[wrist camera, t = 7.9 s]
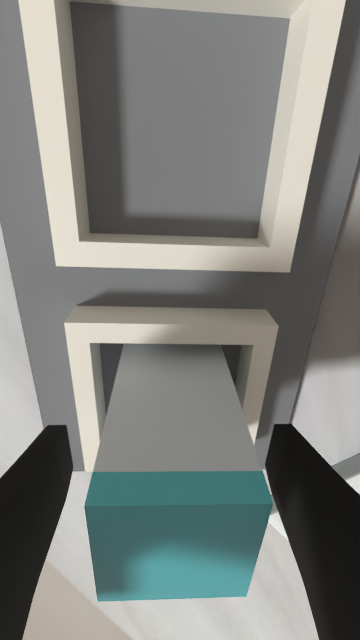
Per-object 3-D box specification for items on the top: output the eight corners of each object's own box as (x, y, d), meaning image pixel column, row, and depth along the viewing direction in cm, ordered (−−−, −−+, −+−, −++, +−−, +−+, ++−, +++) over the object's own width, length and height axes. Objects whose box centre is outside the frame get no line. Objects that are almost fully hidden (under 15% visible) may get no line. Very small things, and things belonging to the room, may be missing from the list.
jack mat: (273, 460, 17) (276, 468, 16) (55, 463, 16) (52, 471, 16) (416, -103, 8) (432, -120, 7) (-68, -154, 7) (-84, -177, 7)
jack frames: (241, 443, 16) (249, 469, 14) (92, 445, 15) (85, 471, 14) (325, -20, 8) (357, -59, 7) (33, -45, 8) (5, -93, 6)
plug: (210, 413, 15) (246, 596, 8) (127, 412, 14) (97, 601, 8) (219, 341, 13) (273, 503, 6) (124, 339, 13) (84, 506, 6)
